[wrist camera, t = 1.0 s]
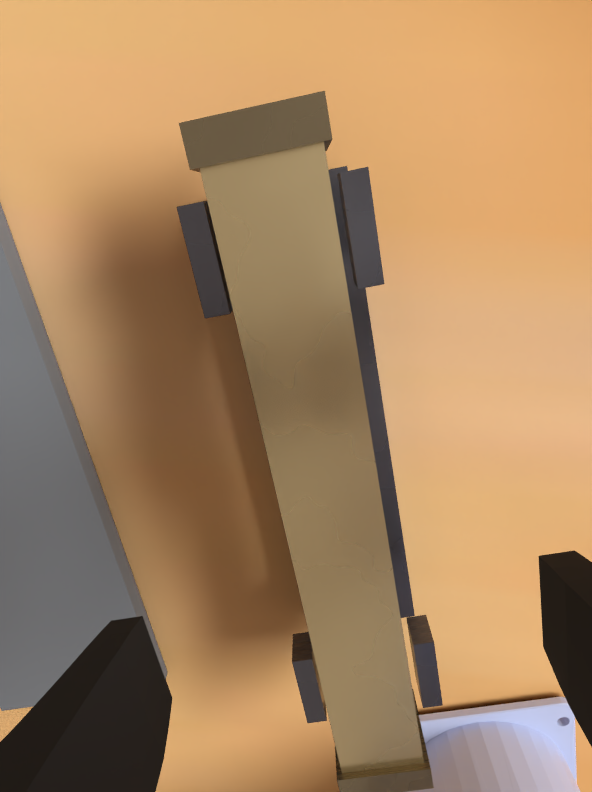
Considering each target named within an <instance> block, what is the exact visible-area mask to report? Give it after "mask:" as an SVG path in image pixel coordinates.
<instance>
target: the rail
mask: <svg viewBox="0 0 592 792" xmlns="http://www.w3.org/2000/svg"><path fill="white" fill-rule="evenodd" d="M179 126H180V130H181V134H182V138H183V142H184V146H185V151H186V155H187V159H188V163H189V167H190V170H193V171H197V172H201V176H202V180H203V185H204V189H205V193H206V197H207V202H208V206H209V210H210V214H211V219H212V223H213V227H214V231H215V236H216V240H217V244H218V248H219V253H220V257H221V261H222V265H223V270H224V274H225V278H226V282H227V287H228V291H229V295H230V299H231V304H232V308H233V312H234V316H235V321H236V325H237V329H238V333H239V338H240V342H241V346H242V350H243V355H244V359H245V363H246V367H247V372H248V376H249V380H250V385H251V389H252V393H253V397H254V402H255V406H256V410H257V414H258V419H259V423H260V427H261V431H262V436H263V440H264V444H265V448H266V453H267V457H268V461H269V465H270V470H271V474H272V478H273V482H274V487H275V491H276V495H277V499H278V504H279V508H280V512H281V516H282V521H283V525H284V529H285V533H286V538H287V542H288V546H289V550H290V555H291V559H292V563H293V567H294V572H295V576H296V580H297V584H298V589H299V593H300V597H301V601H302V606H303V610H304V614H305V618H306V623H307V627H308V631H309V635H310V640H311V644H312V648H313V653H314V657H315V661H316V665H317V670H318V674H319V678H320V682H321V687H322V691H323V695H324V699H325V704H326V708H327V712H328V716H329V721H330V725H331V729H332V733H333V738H334V742H335V752H336V769H337V782H338V786H339V790H340V792H407V791H415V790H424V789H432V788H434V786H433V780H432V773H431V768H430V763H429V759H428V754H427V750H426V745H425V741H424V736H423V732H422V727H421V723H420V718H419V714H418V709H417V705H416V701H415V696H414V692H413V689H412V685H411V679H410V673H409V666H408V660H407V654H406V648H405V642H404V635H403V629H402V623H401V617H400V611H399V604H398V598H397V592H396V586H395V580H394V573H393V567H392V561H391V555H390V549H389V543H388V536H387V530H386V524H385V518H384V512H383V505H382V499H381V493H380V487H379V481H378V474H377V468H376V462H375V456H374V450H373V443H372V437H371V431H370V425H369V419H368V412H367V406H366V400H365V394H364V388H363V382H362V375H361V369H360V363H359V357H358V351H357V344H356V338H355V332H354V326H353V320H352V313H351V307H350V301H349V295H348V289H347V282H346V276H345V270H344V264H343V258H342V252H341V245H340V239H339V233H338V227H337V221H336V214H335V208H334V202H333V196H332V190H331V183H330V177H329V171H328V165H327V159H326V152H325V151H327V149H328V147H329V145H330V143H331V141H332V134H331V128H330V122H329V115H328V109H327V103H326V96H325V91H322V92H317V93H313V94H308V95H304V96H299V97H295V98H290V99H286V100H281V101H277V102H272V103H268V104H263V105H259V106H254V107H250V108H245V109H241V110H236V111H232V112H227V113H222V114H218V115H213V116H209V117H204V118H200V119H195V120H191V121H186V122H182V123H179Z"/></svg>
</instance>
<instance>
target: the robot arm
mask: <svg viewBox="0 0 592 792" xmlns="http://www.w3.org/2000/svg"><path fill="white" fill-rule="evenodd" d="M539 571H540V590H541V610H542V629H543V647H544V649H545V652H546V654H547V656H548V659H549V661H550V664H551V666H552V668H553V671H554V673H555V675H556V678H557V680H558V682H559V685H560V687H561V689H562V691H563V694H564V696H565V697H553V698H545V699H537V700H530V701H522V702H515V703H507V704H499V705H492V706H484V707H476V708H469V709H461V710H454V711H446V712H438V713H431V714H423V715H419V718H420V723H421V727H422V732H423V736H424V741H425V745H426V750H427V754H428V759H429V763H430V768H431V773H432V780H433V786H434V788H432V789H424V790H415V791H407V792H580V790H579V788H578V785H577V774H576V740H575V718H576V720H577V721H578V723H579V725H580V727H581V728H582V730H583V732H584V734H585V736H586V737H587V739H588V741H589V743H590V744H591V746H592V562H590V561H589V560H588V559H586V558H585V557H583V556H582V555H580V554H579V553H577V552H576V551H569V552H562V553H555V554H549V555H542V556H539ZM171 704H172V696H171V693H170V690H169V688H168V685H167V682H166V679H165V677H164V674H163V671H162V668H161V666H160V663H159V660H158V657H157V655H156V652H155V649H154V646H153V643H152V641H151V638H150V635H149V632H148V630H147V627H146V624H145V621H144V619H143V616H139V617H132V618H125V619H119V620H112V621H110V622H109V623H108V624H107V625H106V627H105V628H104V629H103V630H102V631H101V632H100V633H99V634H98V635H97V636H96V637H95V638H94V639H93V641H92V642H91V643H90V644H89V645H88V646H87V647H86V648H85V650H84V651H83V652H82V653H81V654H80V655H79V656H78V657H77V659H76V660H75V661H74V662H73V663H72V664H71V665H70V667H69V668H68V669H67V670H66V671H65V672H64V673H63V675H62V676H61V677H60V678H59V679H58V680H57V681H56V682H55V683H54V685H53V686H52V687H51V688H50V689H49V690H48V691H47V692H46V693H45V695H44V696H43V697H42V698H41V699H40V700H39V701H38V702H37V703H36V705H35V706H34V707H33V708H32V709H31V710H30V711H29V712H28V713H27V715H26V716H25V717H24V718H23V719H22V720H21V721H20V722H19V723H18V724H17V725H16V726H15V728H14V729H13V730H12V731H11V732H10V733H9V734H8V735H7V736H6V737H5V738H4V739H3V740H2V741H1V742H0V792H155V791H156V787H157V783H158V779H159V775H160V771H161V767H162V763H163V759H164V753H165V747H166V740H167V734H168V727H169V719H170V712H171Z"/></svg>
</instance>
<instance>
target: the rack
mask: <svg viewBox="0 0 592 792" xmlns="http://www.w3.org/2000/svg"><path fill="white" fill-rule="evenodd" d="M328 171H329V177H330V183H331V190H332V196H333V202H334V208H335V214H336V221H337V227H338V233H339V239H340V245H341V252H342V258H343V264H344V270H345V276H346V282H347V289H348V295H349V301H350V307H351V313H352V320H353V326H354V332H355V338H356V344H357V351H358V357H359V363H360V369H361V375H362V382H363V388H364V394H365V400H366V406H367V412H368V419H369V425H370V431H371V437H372V443H373V450H374V456H375V462H376V468H377V474H378V481H379V487H380V493H381V499H382V505H383V512H384V518H385V524H386V530H387V536H388V543H389V549H390V555H391V561H392V567H393V573H394V580H395V586H396V592H397V598H398V604H399V611H400V617H401V618H403V617H408V618H407V624H408V630H409V637H410V643H411V649H412V656H413V662H414V668H415V675H416V680H417V684H418V689H419V693H420V697H421V701H422V706H423V708H426V707H434V706H441V705H442V697H441V690H440V683H439V676H438V668H437V661H436V654H435V647H434V641H433V638H432V634H431V631H430V627H429V624H428V621H427V617H426V615H422V616H415V615H414V609H413V602H412V595H411V589H410V582H409V575H408V569H407V562H406V555H405V549H404V542H403V535H402V529H401V522H400V516H399V509H398V502H397V496H396V489H395V482H394V476H393V469H392V462H391V456H390V449H389V442H388V436H387V429H386V422H385V416H384V409H383V403H382V396H381V389H380V383H379V376H378V369H377V363H376V356H375V349H374V343H373V336H372V329H371V323H370V316H369V310H368V303H367V296H366V290H365V288H366V287H371V286H377V285H382V284H384V279H383V271H382V264H381V257H380V250H379V242H378V235H377V228H376V221H375V214H374V206H373V199H372V192H371V185H370V178H369V170H368V167H365V168H361V169H356V170H351V171H348V170H347V166H345V167H340V168H335V169H330V170H328ZM177 210H178V214H179V218H180V222H181V226H182V230H183V234H184V238H185V242H186V246H187V250H188V254H189V258H190V262H191V266H192V269H193V273H194V277H195V281H196V285H197V289H198V293H199V297H200V301H201V305H202V309H203V313H204V317H205V318H210V317H216V316H221V315H226V314H230V313H231V311H232V310H233V308H232V304H231V299H230V295H229V291H228V287H227V282H226V278H225V274H224V270H223V265H222V261H221V257H220V253H219V248H218V244H217V240H216V236H215V231H214V227H213V223H212V219H211V214H210V210H209V206H208V202H207V201H203V202H198V203H193V204H189V205H184V206H179V207H177ZM410 616H415V617H410ZM292 663H293V667H294V671H295V675H296V679H297V683H298V687H299V691H300V695H301V699H302V703H303V707H304V711H305V715H306V718H307V722H308V723H312V722H320V721H327V717H326V704H325V699H324V695H323V691H322V687H321V682H320V678H319V674H318V670H317V665H316V661H315V657H314V653H313V648H312V644H311V640H310V635H309V632H305V633H298V634H293V648H292Z"/></svg>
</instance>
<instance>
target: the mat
mask: <svg viewBox="0 0 592 792" xmlns="http://www.w3.org/2000/svg"><path fill="white" fill-rule="evenodd" d="M139 616H143V619H144V621H145V624H146V627H147V630H148V632H149V635H150V638H151V641H152V643H153V646H154V649H155V652H156V655H157V657H158V660H159V663H160V666H161V668H162V671H163V674H164V677H165V679H166V676H167V669H166V666H165V664H164V661H163V658H162V655H161V652H160V650H159V647H158V644H157V641H156V638H155V636H154V633H153V630H152V627H151V624H150V622H149V619H148V616H147V613H146V610H145V608H144V605H143V602H142V599H141V596H140V594H139V591H138V588H137V585H136V582H135V579H134V577H133V574H132V571H131V568H130V565H129V563H128V560H127V557H126V554H125V551H124V549H123V546H122V543H121V540H120V537H119V535H118V532H117V529H116V526H115V523H114V521H113V518H112V515H111V512H110V509H109V507H108V504H107V501H106V498H105V495H104V492H103V490H102V487H101V484H100V481H99V478H98V476H97V473H96V470H95V467H94V464H93V462H92V459H91V456H90V453H89V450H88V448H87V445H86V442H85V439H84V436H83V434H82V431H81V428H80V425H79V422H78V420H77V417H76V414H75V411H74V408H73V406H72V403H71V400H70V397H69V394H68V391H67V389H66V386H65V383H64V380H63V377H62V375H61V372H60V369H59V366H58V363H57V361H56V358H55V355H54V352H53V349H52V347H51V344H50V341H49V338H48V335H47V333H46V330H45V327H44V324H43V321H42V319H41V316H40V313H39V310H38V307H37V304H36V302H35V299H34V296H33V293H32V290H31V288H30V285H29V282H28V279H27V276H26V274H25V271H24V268H23V265H22V262H21V260H20V257H19V254H18V251H17V248H16V246H15V243H14V240H13V237H12V234H11V232H10V229H9V226H8V223H7V220H6V217H5V215H4V212H3V209H2V206H1V203H0V708H1V710H2V711H4V710H11V709H18V708H25V707H32V706H35V705H36V703H37V702H38V701H39V700H40V699H41V698H42V697H43V696H44V695H45V693H46V692H47V691H48V690H49V689H50V688H51V687H52V686H53V685H54V683H55V682H56V681H57V680H58V679H59V678H60V677H61V676H62V675H63V673H64V672H65V671H66V670H67V669H68V668H69V667H70V665H71V664H72V663H73V662H74V661H75V660H76V659H77V657H78V656H79V655H80V654H81V653H82V652H83V651H84V650H85V648H86V647H87V646H88V645H89V644H90V643H91V642H92V641H93V639H94V638H95V637H96V636H97V635H98V634H99V633H100V632H101V631H102V630H103V629H104V628H105V627H106V625H107V624H108V623H109V622H110V621H112V620H119V619H125V618H132V617H139Z"/></svg>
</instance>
